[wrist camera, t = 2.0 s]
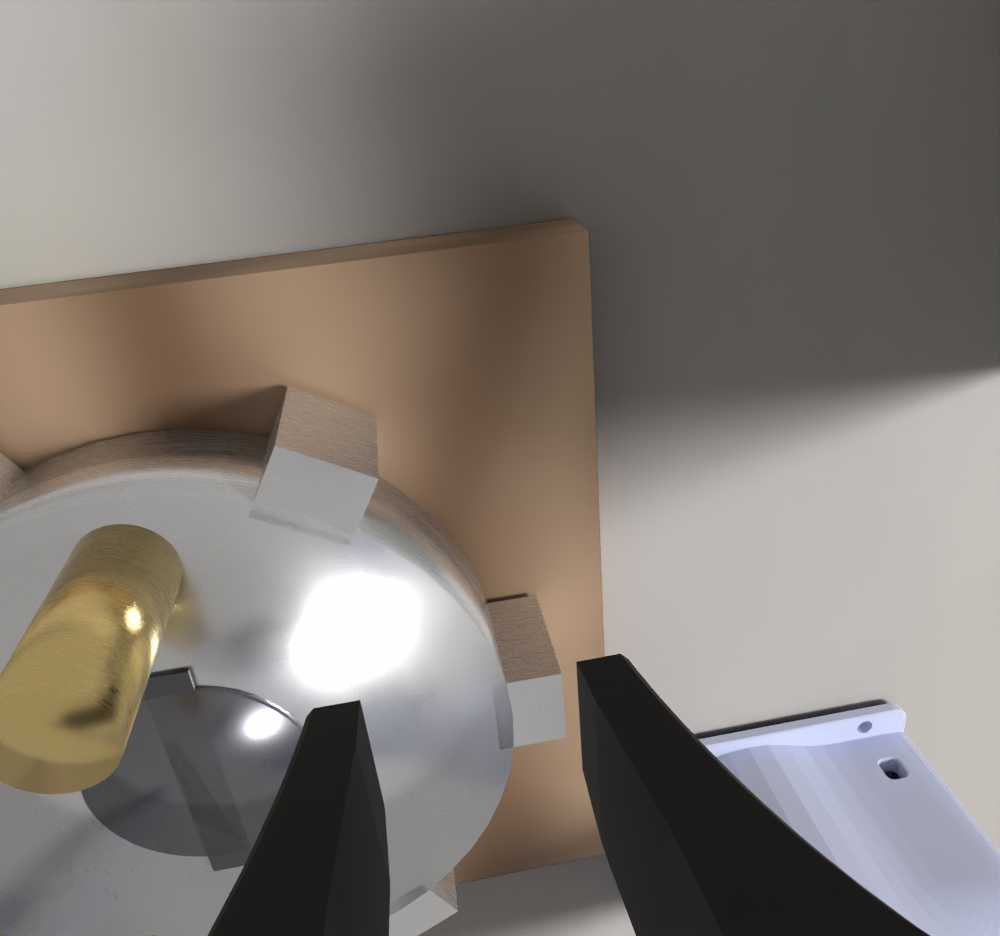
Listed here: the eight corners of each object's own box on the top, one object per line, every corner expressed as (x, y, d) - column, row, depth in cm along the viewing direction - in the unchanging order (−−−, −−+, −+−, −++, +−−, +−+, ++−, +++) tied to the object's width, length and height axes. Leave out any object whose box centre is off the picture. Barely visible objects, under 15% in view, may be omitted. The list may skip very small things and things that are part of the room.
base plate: (572, 218, 18) (591, 233, 17) (599, 814, 28) (613, 858, 26) (-387, 337, 16) (-462, 366, 15) (-8, 933, 26) (-30, 987, 24)
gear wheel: (555, 819, 25) (624, 1090, 18) (2, 927, 23) (-138, 1266, 17) (515, 353, 18) (605, 527, 11) (-287, 465, 16) (-724, 743, 10)
